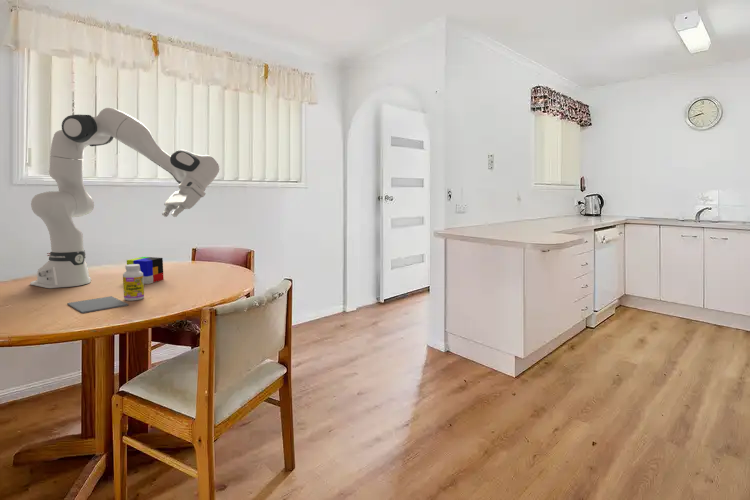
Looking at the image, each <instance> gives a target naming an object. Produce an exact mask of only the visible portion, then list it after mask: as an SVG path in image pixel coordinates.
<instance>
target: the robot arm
mask: <svg viewBox="0 0 750 500" xmlns="http://www.w3.org/2000/svg"><path fill="white" fill-rule="evenodd" d="M114 139H115V140H117V141H119V142H120V143H122V144H124V145H125V146H127V147H129V148H130V149H133V150H134V151H135V152H137V153H139V154H141V155H142V156H144V157H145V158H147V159H148V160H150V161H151V162H153V163H154V164H155V165H156V166H159V168H162V169H163V170H164V171H166V172H168V173H169V174H170V175H171V176H172V177H173V179H174V180H175V182H176V183H178V186H177V187H178V189H179V190H177V191H174V192H173V193H172V194H171V195H170V196H169V197H168V198H167V199H166V200H165V202H164V204H163V205H164V206H165V209H164V211H163V212H162V213H161V216H163V217H165V218H166V217H168V216H169V215H170V214H171V216H172V217H174V218H177V216H179V214H181V213H182V212H183V211H184V210H190V209H192V208H193V207H194V206H195V205H197V203H198V202H199V201H200V199H201V198H204V197H205V196H206V192H205V191H206V189H207V187H208V186H209V185H211V184H212V183H213V181H214V180H215V179H216V177H217V175H218V174H219V173H220V165H219V163H218V161H217V160H216V159H215V158H214V157H212V156H211V155H209V154H205V155H202V154H197V153H194V152H191V151H189V150H186V149H177V150H175V151H174V152H172V153H171V155H170V154H169V153H167V152H166V151H164V150H163V149H162V148H161V147H160V145H159V144H158V143H157V141H156V140H155V138H154V137H153V135H152V133H151V130H149V128H147V126H145V124H144V123H142V122H141V121H139V120H138V119H137V118H135V117H133V116H131V115H129V114H127V113H125V112H124V111H122V110H119V109H116V108H115V107H114V108H113V107H105V108H103V109H102V110H101V111H99V112H98V114H97V115H96V116H92V115H91V114H70V115H68V116H66V117H64V119H63V120H62V123H61V130H56V132H54V134H53V137H52V140H51V146H50V151H49V153H50V154H49V170H48V172H49V176H50V177H51V179H53V180H54V181H55V182H56V184H57V187H58V188H57V189H58V191H57V190H56V191H54V190H53V191H45V192H40V193H38V194H35V195H34V196H33V197H32V199H31V200H30V202H31V203H30V206H31V210H32V212H33V213H34V214H35V215H36V216H37V217H39V218H40V220H42V221H43V223H44V224H45V226H46V228H47V231H48V234H49V239H50V247H51V251H50V252H47V253H46V254H47V255H46V256H47V257H48V261H47V262H46V263H44V264H43V265H42V266H41V267H40V268H39V269H37V272H36V273H37V274H36V278H37V279H36V280H32V281H30V285H31V286H36V287H41V288H46V289H57V288H69V287H79V286H82V285H87V284H90V283H91V280H92V277H90V273H89V269H88V264H87V262H86V260H85V259H86V257H87V256H86V250H85V249H84V239H83V238H84V236H83V232H82V230H81V229H79V228H78V227H76V225H75V224H74V221H73V218H80V217H83V216H86V215H88V214H89V215H90V213H92V212H93V210H94V206H95V202H94V199H93V198H92V196H91V195H90V194H89V193H88V192H87V190H86V187H85V183H84V177H83V175H84V174H83V172H84V171H83V170H84V152H85V149H86V147H87V146H90V147H98V146H104V145H108V144H110V143H111V142H112V141H113V140H114Z"/></svg>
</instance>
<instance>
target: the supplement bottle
mask: <svg viewBox="0 0 750 500" xmlns="http://www.w3.org/2000/svg"><path fill="white" fill-rule="evenodd" d="M124 268H125V272H123V274H122V287H123V289H122V290H123V299H124V300H125V301H129V302H131V301H132V302H134V301H140V300H143V299H144V298H145V286H144V285H145V284H144V281H143V273H142V272H141V271H139V269H140V265H139V264H129V265H127V264H125V266H124Z"/></svg>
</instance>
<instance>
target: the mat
mask: <svg viewBox="0 0 750 500" xmlns="http://www.w3.org/2000/svg"><path fill="white" fill-rule="evenodd" d="M67 305H68V306H70V307H71V308H72V309H74V310H76V311H78V312H79V313H81V314H86V313H93V312H96V311H98V312H99V311H104V310H108V309H114V308H121V307H122V308H123V307H127V306H129V303H127V302H125V301H123V300H120V299H118V298H116V297H114V296H112V295H110V296H104V297H99V298H92V299H86V300H77V301H73V302H72V301H71V302H67Z"/></svg>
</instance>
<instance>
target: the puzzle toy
mask: <svg viewBox="0 0 750 500" xmlns="http://www.w3.org/2000/svg"><path fill="white" fill-rule="evenodd" d="M129 264H139V265H140V269H139V271H141V272H142V273H143V281H144V285H149V284H153V283H156V281H157V282H159V281H163V280H164V278H165V277H164V261H163V257H154V256H153V257H151V256H141V257H136V258H130V259H126V265H129Z"/></svg>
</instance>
